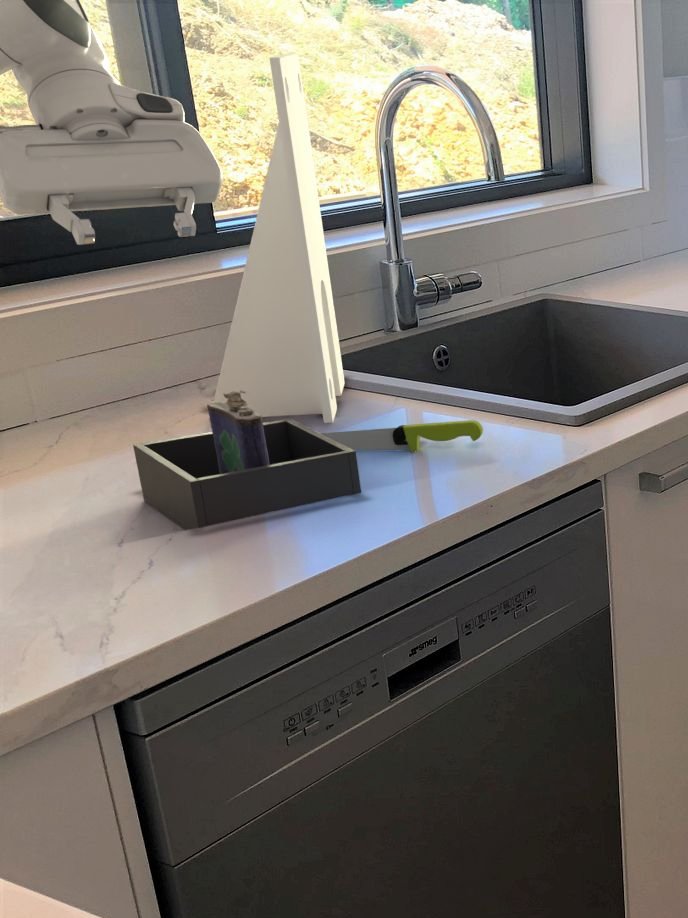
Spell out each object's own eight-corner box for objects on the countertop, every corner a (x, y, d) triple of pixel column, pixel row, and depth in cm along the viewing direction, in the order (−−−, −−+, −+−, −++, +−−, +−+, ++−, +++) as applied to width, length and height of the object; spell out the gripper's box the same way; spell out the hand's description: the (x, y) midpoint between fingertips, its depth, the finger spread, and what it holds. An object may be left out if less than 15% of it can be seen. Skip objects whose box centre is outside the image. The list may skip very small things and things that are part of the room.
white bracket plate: (227, 389, 179) (168, 52, 163) (344, 383, 183) (298, 53, 166) (202, 429, 162) (133, 57, 145) (332, 422, 165) (279, 57, 149)
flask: (218, 490, 139) (199, 384, 134) (247, 484, 141) (229, 379, 136) (256, 512, 133) (238, 402, 128) (286, 506, 135) (269, 397, 130)
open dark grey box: (201, 542, 127) (190, 482, 125) (144, 501, 138) (132, 444, 135) (363, 507, 137) (356, 451, 135) (298, 471, 148) (290, 418, 145)
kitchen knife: (286, 462, 155) (279, 436, 153) (290, 459, 156) (284, 433, 155) (483, 448, 154) (478, 422, 153) (486, 445, 155) (481, 419, 154)
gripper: (-30, 104, 130) (22, 223, 128) (195, 100, 143) (247, 208, 141) (-30, 150, 135) (20, 266, 133) (187, 142, 148) (237, 248, 145)
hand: (138, 236), depth 137 cm, fingers open, 8 cm apart
